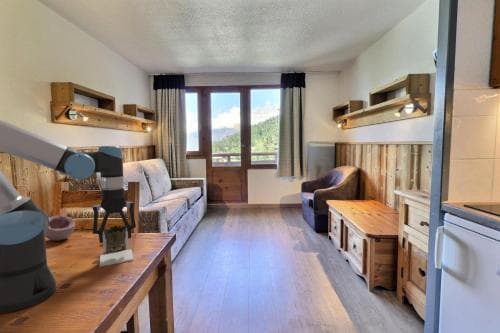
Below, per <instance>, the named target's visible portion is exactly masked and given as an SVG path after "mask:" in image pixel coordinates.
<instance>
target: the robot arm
mask: <svg viewBox="0 0 500 333" xmlns="http://www.w3.org/2000/svg"><path fill="white" fill-rule="evenodd" d="M122 151H123V150H122V147H121V146H119V145H100V146H99V147H98V151H82V152H81V151H78V150H76V149H73V148H70V147H68V146H66V145H63V144H61V143H59V142H56V141H54V140H52V139H49V138H46V137H44V136H41V135H38V134H36V133H34V132H31V131H29V130H26V129H24V128H21V127H19V126H17V125H14V124H12V123H10V122H7V121H4V120H3V119H0V152H3V153H6V154H8V155H12V156H14V157H18V158H20V159H23V160H25V161H28V162H31V163H34V164H38V165H40V166H43V167H45V168H48V169H50V170H54V171H57V172H59V174H60V175H62V176H69V177H70V178H72V179H75V180H84V179H87V178H89V177H91V176H92V175H93V174H98V173H100V177H99V178H100V188H101V191H100V193H101V202H100V203H99V204H97V205H96V204H94V205H92V211H93V224H92V225H93V227H92V233H93V234H94V235H95V234H97V235H98V238H99V240H98V241H99V244H102V245H103V246H102V248H103V250H102V251H103V253H106V239H105V234H104V229H106V228H105V227H106V225H107V221H108V219H109V215H112V214H119V216H120V217H121V219H122V222H123V224H124V225H125V227H126V238H125V244H126V249H129V239H131V238H132V230H133V229H135V228H137V226H136V225H137V224H136V220H135V219H136V218H135V212H134V206H135V205H134V204H135V203H134V202H133V201H127V200H126V198H125V197H126V196H125V188H124V186H125V181H124V178H125V177H124V161H123V160H124V158H123V152H122ZM125 206H126V207H127V208H128V209H129V216H130V222H131V224H130V223H129V221H128V219H127V217H126V215H125V213H124V211H123V209H124V207H125ZM101 208H102V209H103V210H104V215H103V218H102V222H101V223H100V227H99V229H98V223H99V222H98V221H99V219H98V218H99V211H101ZM48 218H49V216H48V214H47V213H46V212H45V211H44V210H43V209H41V208H40V207H39V206H37V204H36V202H34V201H33V199H32V198H31V197H29V196H24V195H21V194H20V193H19V191H18V190H17V189H16V187H15V186H14V185H13V184H12V183H11V182H10V180H9V179H8V178H7V176H6V175H5V174H4V173H3V172H2V170H1V169H0V314H6V313H13V312H17V311H21V310H25V309H27V308H30V307H33V306H35V305H37V304H40V303H42V302H44V301H45V300H47V299H48V298H50V297H51V296H52V295H53V294H54V293H55V292H56V290H57V281H56V279H55V277H54V274H53V273H52V270H51V269H50V267H49V266H48V261H47V246H46V233H47V231H48V228H49V220H48Z"/></svg>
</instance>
